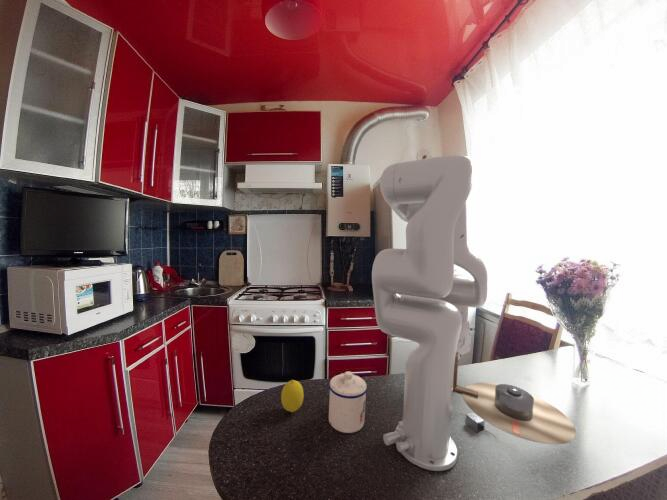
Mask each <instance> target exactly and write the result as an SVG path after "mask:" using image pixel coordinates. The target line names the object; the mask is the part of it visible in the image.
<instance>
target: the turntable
mask: <svg viewBox="0 0 667 500" xmlns="http://www.w3.org/2000/svg"><path fill="white" fill-rule="evenodd" d="M458 354H459V353H458V352H456V355H455V364H454V377H453V391H455V392H457V393H461V394H462V397H463V400H464V402H465V403H466V405H467V406H468V407H469V409H470V410H472V412H473V413H475V414H476V415H478V416H479V417H480V418H482V419H483V420H485V421H486V422H487V423H488V424H490V425H491V426H493V427H495V428H498V429H499V430H502V431H503V432H505V433H507V434H510V435H513V436H515V437H519V438H521V439H524V440H527V441H530V442H531V441H532V442H536V443H540V444H547V445H563V444H567V443H570V442H571V441H573V440H574V439H575V437H576V434H577V433H576V432H577V431H576V428H575V426H574V424H573V422H572V421H571V420H570V418H569V417H568V416H566V414H564V413H563V412H562V411H561V410H560V409H558V408H557V407H555V406H554V405H552V404H551V403H549V402H547V401H546V400H544V399H542V398H540V397H538V396H536V395H534V394H532V393H529V392H528V393H529V394H531V395H532V397H533V398H534V404H533V418H532V420H530V421H520V420H516V419H513V418H510V417H508V416H506V415H504V414H503V413H501V412H500V411H499V410H498V409H497V408H496V407H495V404H494V403H495V388H496V386H497V385H499V384H500V383H494V382H485V381H483V382H481V381H480V382H473V383H470V384H468V385H466V386H461V385H458V368H459V362H458ZM485 421H484V422H485Z"/></svg>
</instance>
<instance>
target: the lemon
mask: <svg viewBox="0 0 667 500" xmlns="http://www.w3.org/2000/svg"><path fill="white" fill-rule="evenodd" d="M281 390H282V391H281V395H280V401H281V405H282V407H283V409H284V410H285V411H287V412H290V413H294V412H296V411H297V410H299V409H300V407H302V405H303V402H304V398H305V397H304V396H305V394H304V388H303V385H302V384H301V382H299V381H298V380H294V379H291V380H289V381H287V382H286V383H285V384H284V386H283V388H282V389H281Z"/></svg>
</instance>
